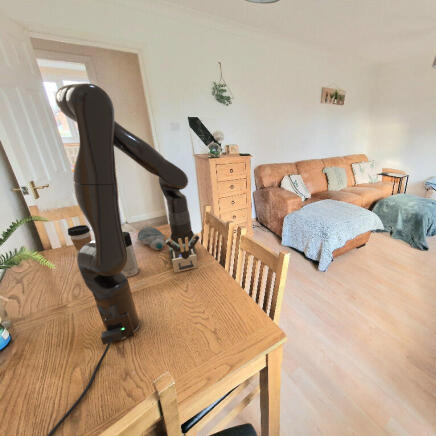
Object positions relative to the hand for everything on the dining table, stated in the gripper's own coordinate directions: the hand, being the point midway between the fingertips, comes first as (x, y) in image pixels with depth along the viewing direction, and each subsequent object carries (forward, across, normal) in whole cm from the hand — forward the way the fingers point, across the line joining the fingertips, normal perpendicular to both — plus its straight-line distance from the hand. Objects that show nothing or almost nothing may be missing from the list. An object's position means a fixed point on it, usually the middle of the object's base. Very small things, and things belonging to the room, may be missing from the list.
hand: (185, 258), depth 100 cm
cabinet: (+14, 0, +26) cm, 29 cm away
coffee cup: (+14, -44, +49) cm, 67 cm away
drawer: (+13, 0, +14) cm, 19 cm away
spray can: (+14, -23, +20) cm, 33 cm away
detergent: (+14, -13, +46) cm, 50 cm away
